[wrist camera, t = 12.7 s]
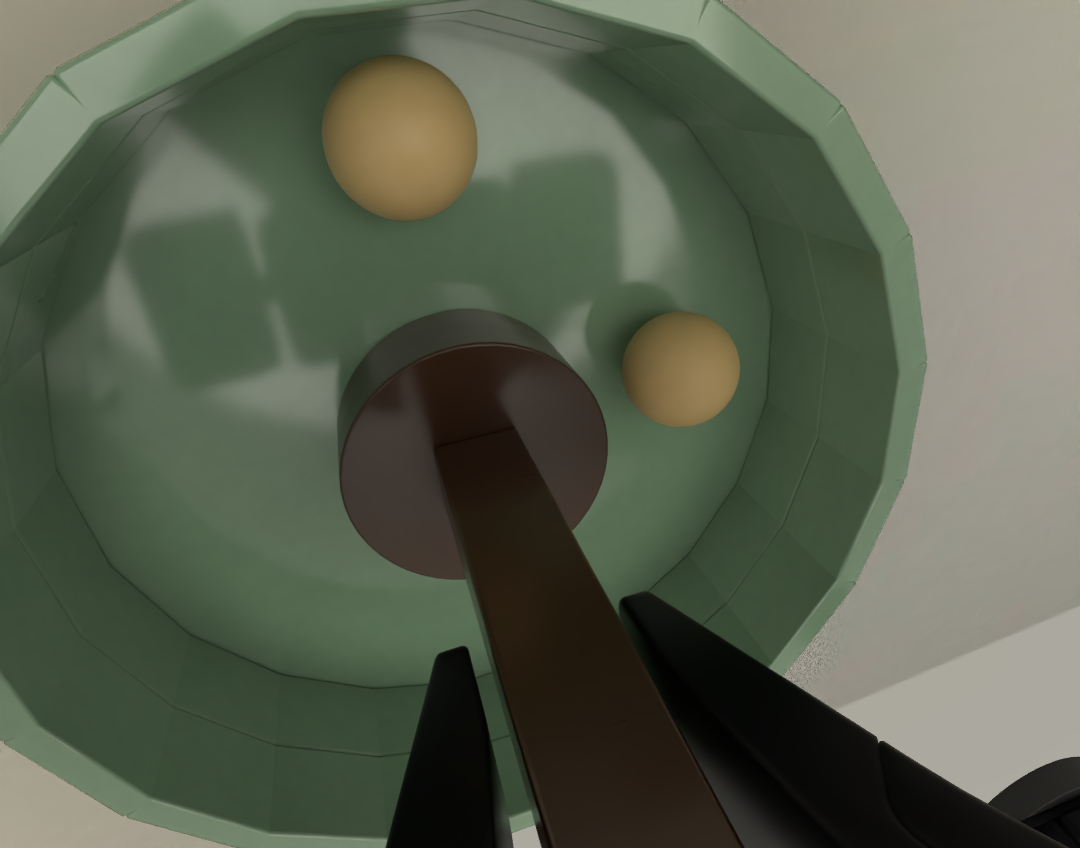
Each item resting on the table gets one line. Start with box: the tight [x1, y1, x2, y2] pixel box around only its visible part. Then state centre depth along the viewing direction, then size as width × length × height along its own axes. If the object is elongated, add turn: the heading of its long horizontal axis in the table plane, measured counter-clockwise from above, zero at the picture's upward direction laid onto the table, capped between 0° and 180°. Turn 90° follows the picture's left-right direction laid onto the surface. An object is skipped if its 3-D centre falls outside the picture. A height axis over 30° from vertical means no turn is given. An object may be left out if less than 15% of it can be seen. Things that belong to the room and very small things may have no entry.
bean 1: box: [322, 55, 478, 221], centre depth 11 cm, size 2×2×2 cm
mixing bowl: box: [0, 0, 927, 848], centre depth 13 cm, size 16×16×4 cm
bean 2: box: [622, 311, 740, 427], centre depth 14 cm, size 2×2×2 cm
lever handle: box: [337, 310, 744, 848], centre depth 10 cm, size 5×5×11 cm
